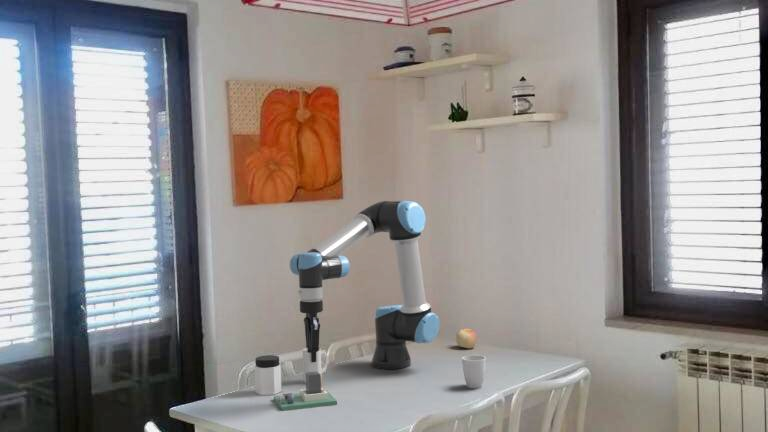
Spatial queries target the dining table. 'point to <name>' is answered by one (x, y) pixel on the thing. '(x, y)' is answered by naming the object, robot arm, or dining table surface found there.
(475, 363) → the cup
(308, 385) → the plug
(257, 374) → the jar
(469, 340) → the apple
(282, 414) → the dining table surface
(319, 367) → the mug
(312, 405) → the board
